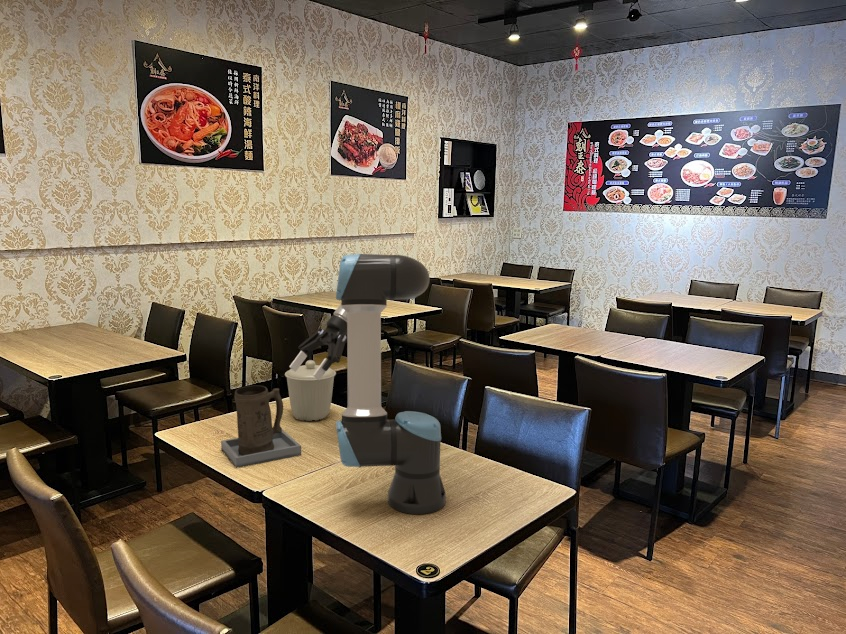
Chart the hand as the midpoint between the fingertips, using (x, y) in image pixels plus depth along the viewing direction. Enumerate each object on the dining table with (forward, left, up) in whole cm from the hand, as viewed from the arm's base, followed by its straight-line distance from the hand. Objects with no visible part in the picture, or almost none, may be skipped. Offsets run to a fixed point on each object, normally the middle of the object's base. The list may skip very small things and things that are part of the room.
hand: (303, 373), depth 198 cm
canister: (+24, -12, -24) cm, 36 cm away
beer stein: (0, +14, -23) cm, 27 cm away
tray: (0, +14, -23) cm, 27 cm away
